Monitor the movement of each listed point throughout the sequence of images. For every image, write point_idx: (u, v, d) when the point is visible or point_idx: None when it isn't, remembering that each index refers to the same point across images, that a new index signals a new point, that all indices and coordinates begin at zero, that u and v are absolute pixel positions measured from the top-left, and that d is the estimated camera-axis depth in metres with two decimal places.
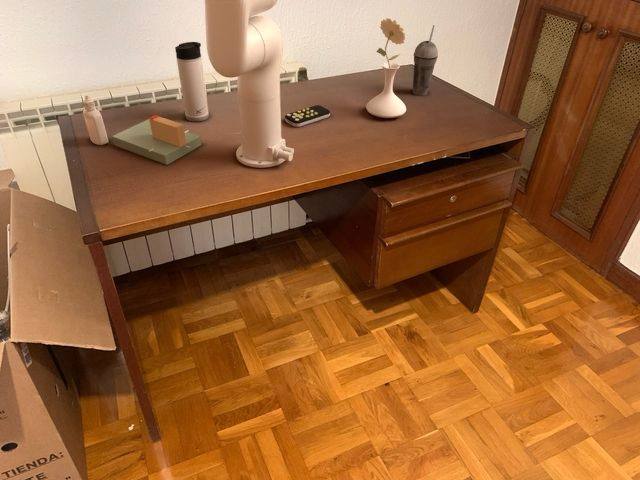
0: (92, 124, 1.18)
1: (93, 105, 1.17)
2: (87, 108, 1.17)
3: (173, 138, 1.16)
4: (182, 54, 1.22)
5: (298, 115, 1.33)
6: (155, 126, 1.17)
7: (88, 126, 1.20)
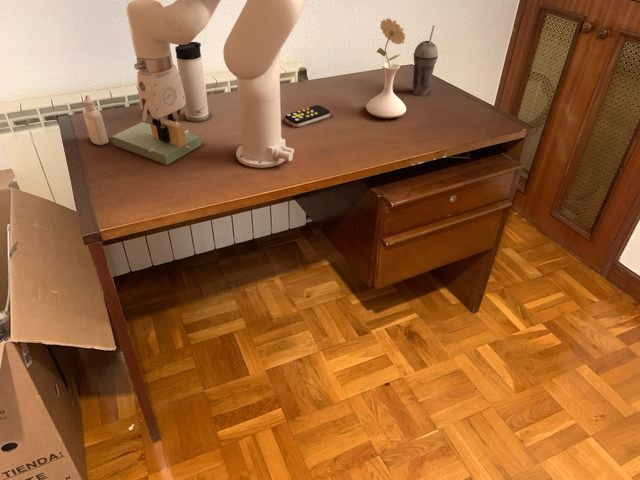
0: (92, 124, 1.18)
1: (93, 105, 1.17)
2: (87, 108, 1.17)
3: (173, 138, 1.16)
4: (182, 54, 1.22)
5: (298, 115, 1.33)
6: (155, 126, 1.17)
7: (88, 126, 1.20)
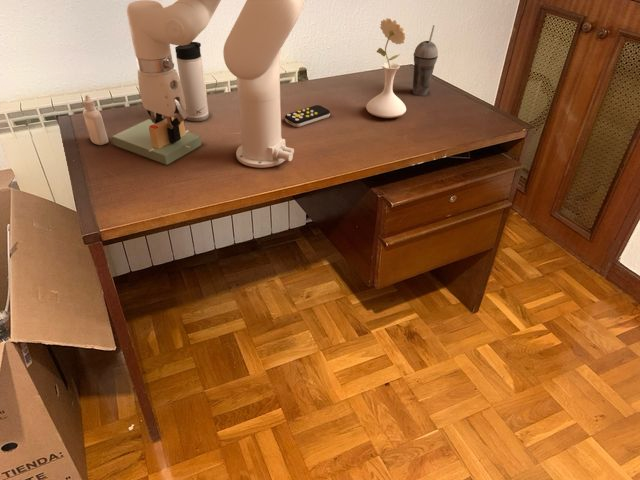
0: (92, 124, 1.18)
1: (93, 105, 1.17)
2: (87, 108, 1.17)
3: None
4: (182, 54, 1.22)
5: (298, 115, 1.33)
6: (162, 132, 1.15)
7: (88, 126, 1.20)
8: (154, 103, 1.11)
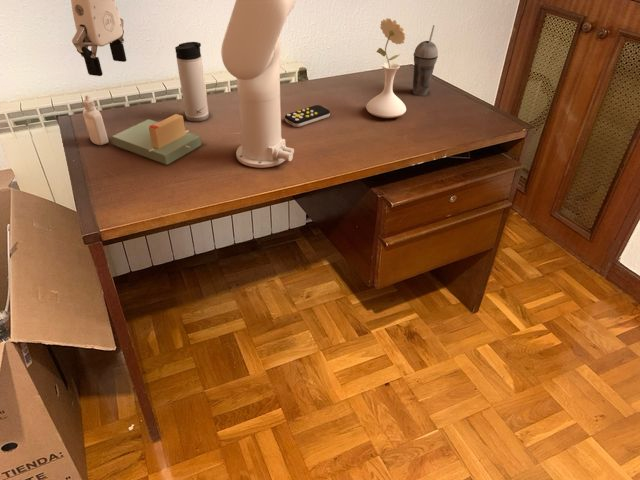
0: (92, 124, 1.18)
1: (93, 105, 1.17)
2: (87, 108, 1.17)
3: (179, 130, 1.19)
4: (182, 54, 1.22)
5: (298, 115, 1.33)
6: (162, 132, 1.15)
7: (88, 126, 1.20)
8: None
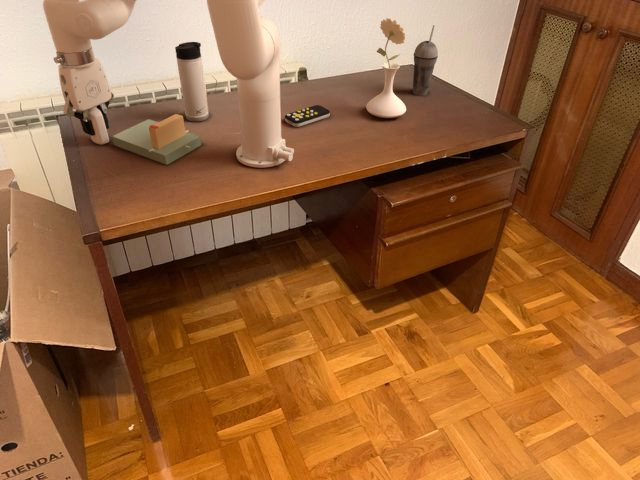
0: (93, 123, 1.18)
1: None
2: None
3: (179, 130, 1.19)
4: (182, 54, 1.22)
5: (298, 115, 1.33)
6: (162, 132, 1.15)
7: None
8: None
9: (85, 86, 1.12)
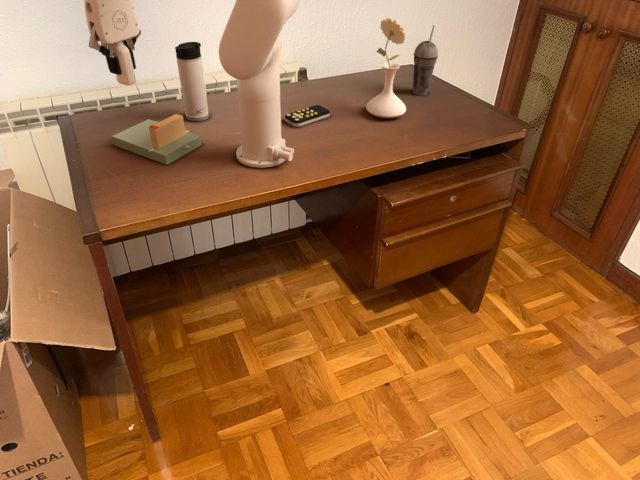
0: (119, 60, 1.09)
1: None
2: None
3: (179, 130, 1.19)
4: (182, 54, 1.22)
5: (298, 115, 1.33)
6: (162, 132, 1.15)
7: None
8: None
9: (112, 16, 1.03)
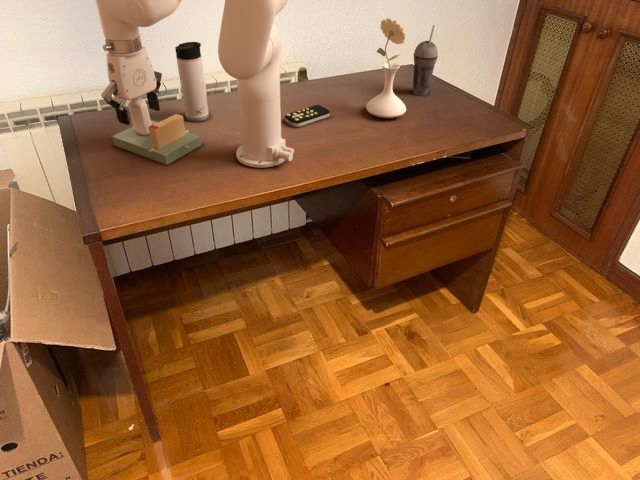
0: (137, 113, 1.17)
1: None
2: None
3: (179, 130, 1.19)
4: (182, 54, 1.22)
5: (298, 115, 1.33)
6: (162, 132, 1.15)
7: (133, 116, 1.19)
8: None
9: (132, 75, 1.11)
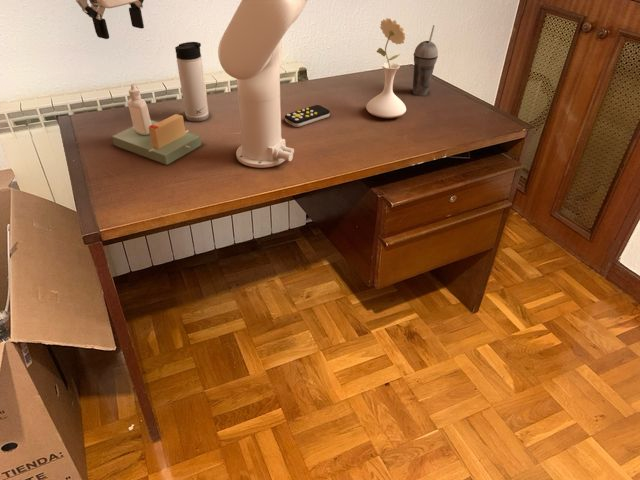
0: (137, 113, 1.17)
1: (139, 94, 1.16)
2: (133, 97, 1.16)
3: (179, 130, 1.19)
4: (182, 54, 1.22)
5: (298, 115, 1.33)
6: (162, 132, 1.15)
7: (133, 116, 1.19)
8: None
9: None
